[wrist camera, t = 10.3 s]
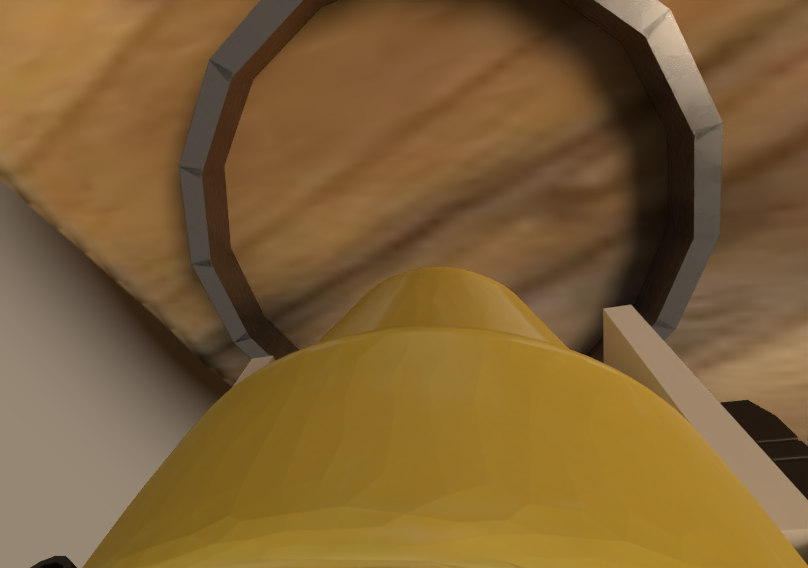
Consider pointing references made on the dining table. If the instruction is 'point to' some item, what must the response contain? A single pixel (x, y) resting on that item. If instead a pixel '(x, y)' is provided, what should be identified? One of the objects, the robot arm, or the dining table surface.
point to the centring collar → (601, 3)
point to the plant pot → (443, 455)
